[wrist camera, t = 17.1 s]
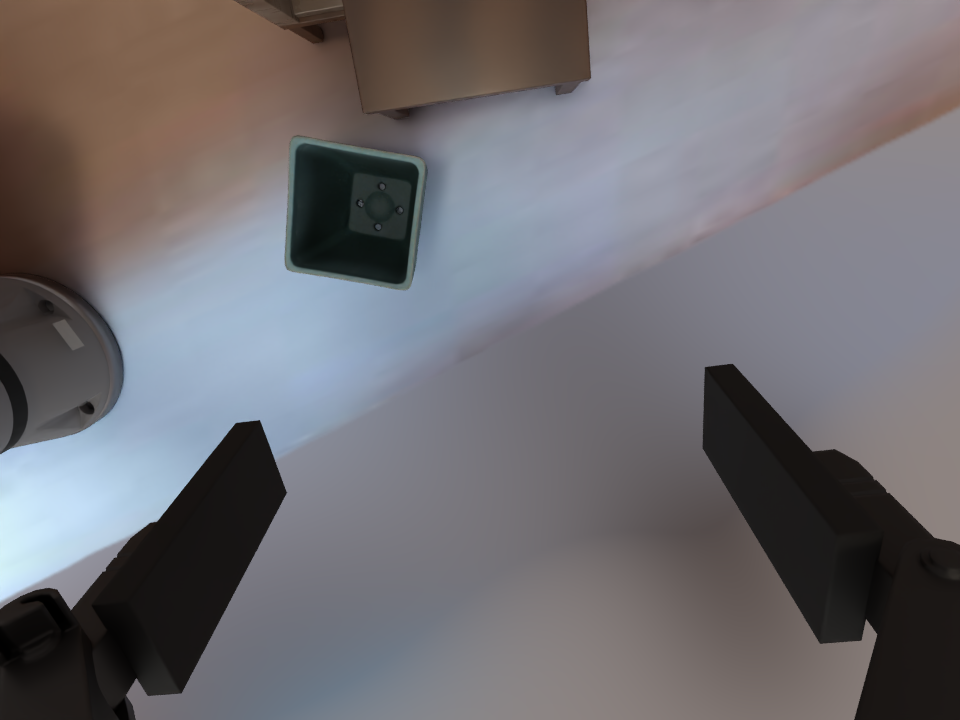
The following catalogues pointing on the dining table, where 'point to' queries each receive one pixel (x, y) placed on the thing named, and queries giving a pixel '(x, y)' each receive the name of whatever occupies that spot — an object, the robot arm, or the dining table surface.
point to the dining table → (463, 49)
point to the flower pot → (353, 212)
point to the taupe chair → (298, 14)
